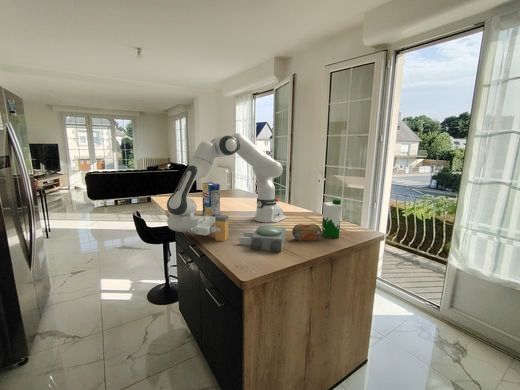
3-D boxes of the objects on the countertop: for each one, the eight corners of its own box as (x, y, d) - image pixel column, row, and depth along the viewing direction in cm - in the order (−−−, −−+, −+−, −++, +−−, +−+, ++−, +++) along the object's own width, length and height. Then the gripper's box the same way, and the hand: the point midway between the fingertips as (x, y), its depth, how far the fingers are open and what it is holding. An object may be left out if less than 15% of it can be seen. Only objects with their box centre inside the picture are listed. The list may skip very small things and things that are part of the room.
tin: (292, 240, 134) (293, 224, 132) (291, 238, 137) (292, 223, 135) (321, 240, 135) (322, 224, 134) (319, 238, 138) (320, 223, 137)
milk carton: (341, 238, 139) (344, 201, 135) (324, 238, 138) (327, 201, 134) (335, 233, 147) (338, 198, 144) (319, 233, 147) (322, 198, 143)
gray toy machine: (236, 248, 122) (236, 232, 120) (246, 234, 141) (246, 221, 140) (280, 252, 118) (281, 236, 117) (285, 238, 137) (286, 224, 136)
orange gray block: (215, 240, 132) (215, 217, 129) (218, 237, 136) (218, 214, 134) (225, 241, 131) (225, 217, 128) (228, 237, 135) (228, 215, 133)
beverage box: (211, 218, 171) (210, 185, 167) (202, 214, 179) (202, 183, 175) (220, 216, 175) (219, 184, 171) (211, 213, 183) (211, 182, 179)
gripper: (188, 224, 124) (216, 226, 122) (205, 214, 144) (229, 215, 141) (189, 237, 125) (216, 239, 123) (205, 225, 145) (229, 227, 142)
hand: (223, 226), depth 132 cm, fingers open, 7 cm apart
